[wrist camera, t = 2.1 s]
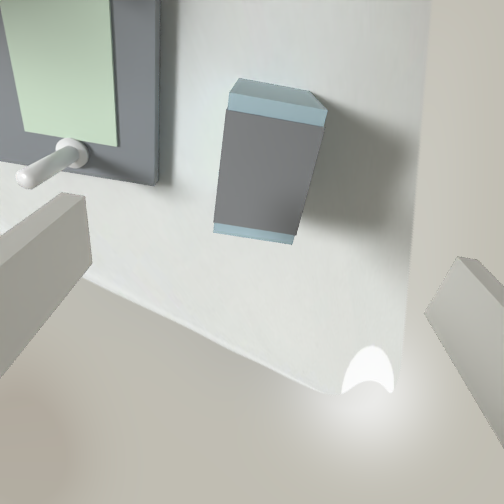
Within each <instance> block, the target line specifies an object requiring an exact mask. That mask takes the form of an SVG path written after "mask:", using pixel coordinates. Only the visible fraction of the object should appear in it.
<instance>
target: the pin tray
mask: <svg viewBox="0 0 504 504" xmlns="http://www.w3.org/2000/svg"><path fill="white" fill-rule="evenodd" d="M159 83H160V0H0V161H3V162H9V163H15V164H21V165H27V167H25V168H23V169H21V170H19V171H18V172H17V173H16V176H15V177H16V180H17V182H18V184H19V185H20V186H22V187H23V188H26V189H33V188H35V187H36V186H38V185H40V184H41V183H43V182H44V181H46V180H48V179H49V178H51V177H52V176H54V175H55V174H57V173H59V172H60V171H64V172H70V173H77V174H83V175H89V176H95V177H101V178H107V179H113V180H120V181H126V182H132V183H138V184H144V185H150V186H155V185H156V183H157V182H158V168H159Z"/></svg>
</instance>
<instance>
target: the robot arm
mask: <svg viewBox="0 0 504 504" xmlns="http://www.w3.org/2000/svg"><path fill="white" fill-rule="evenodd" d="M91 264H92V254H91V245H90V236H89V227H88V219H87V210H86V201H85V196H81V195H75V194H69V193H63V192H62V193H60V194H59V195H57V196H56V197H55V198H53V199H52V200H50V201H49V202H48V203H46V204H45V205H43V206H42V207H41V208H39V209H38V210H36V211H35V212H34V213H32V214H31V215H29V216H28V217H27V218H25V219H24V220H22V221H21V222H20V223H18V224H17V225H15V226H14V227H13V228H11V229H10V230H8V231H7V232H6V233H4V234H3V235H1V236H0V378H1V377H2V376H3V375H4V373H5V372H6V371H7V370H8V368H9V367H10V366H11V365H12V363H13V362H14V361H15V360H16V358H17V357H18V356H19V355H20V353H21V352H22V351H23V350H24V348H25V347H26V346H27V344H28V343H29V342H30V341H31V339H32V338H33V337H34V335H36V333H37V332H38V331H39V330H40V328H41V327H42V326H43V324H44V323H45V322H46V321H47V320H48V318H49V317H50V316H51V314H52V313H53V312H54V311H55V310H56V308H57V307H58V306H59V305H60V303H61V302H62V301H63V300H64V298H65V297H66V296H67V294H68V293H69V292H70V291H71V289H72V288H73V287H74V286H75V284H76V283H77V282H78V281H79V279H80V278H81V277H82V276H83V274H84V273H85V272H86V271H87V269H88V268H89V267H90V266H91ZM424 314H425V316H426V318H427V320H428V321H429V323H430V325H431V326H432V328H433V330H434V331H435V333H436V335H437V336H438V338H439V340H440V342H441V343H442V345H443V347H444V348H445V350H446V352H447V353H448V355H449V357H450V358H451V360H452V362H453V364H454V365H455V367H456V368H457V370H458V372H459V374H460V375H461V377H462V379H463V381H464V382H465V384H466V386H467V387H468V389H469V391H470V392H471V394H472V396H473V397H474V399H475V401H476V403H477V404H478V406H479V408H480V409H481V411H482V413H483V414H484V416H485V418H486V419H487V421H488V423H489V425H490V426H491V428H492V430H493V431H494V433H495V435H496V436H497V438H498V440H499V441H500V443H501V445H502V447H503V448H504V286H503V285H502V284H501V283H500V282H499V281H498V280H497V279H496V278H495V277H494V276H493V275H492V274H491V273H490V272H489V271H488V270H487V269H486V268H485V267H484V266H483V265H482V264H481V263H480V262H479V261H478V260H476V259H470V258H464V257H457V258H456V259H455V261H454V263H453V265H452V266H451V268H450V270H449V272H448V273H447V275H446V276H445V278H444V280H443V282H442V283H441V285H440V287H439V289H438V290H437V292H436V294H435V295H434V297H433V299H432V301H431V303H430V304H429V306H428V307H427V309H426V311H425V312H424Z"/></svg>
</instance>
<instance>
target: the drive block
mask: <svg viewBox="0 0 504 504" xmlns="http://www.w3.org/2000/svg"><path fill="white" fill-rule="evenodd" d="M327 112H328V110H327V109H326V108H325V107H324V106H323V105H322V104H321V103H320V102H319V101H318V100H317V99H316V98H315V96H314V95H313V94H312V93H311V92H310V91H306V90H301V89H295V88H290V87H285V86H279V85H274V84H269V83H263V82H258V81H252V80H247V79H242V78H239V79H238V81H237V82H236V83H235V85H234V86H233V88H232V89H231V91H230V92H229V101H228V108H227V109H226V116H225V124H224V133H223V142H222V151H221V160H220V169H219V178H218V186H217V195H216V204H215V213H214V222H213V223H214V231H213V233H220V234H226V235H233V236H239V237H246V238H252V239H258V240H265V241H271V242H278V243H284V244H291V245H292V244H293V240H294V236H295V235H296V234H297V231H298V227H299V223H300V219H301V216H302V212H303V208H304V205H305V201H306V197H307V193H308V190H309V186H310V182H311V179H312V175H313V171H314V167H315V164H316V160H317V156H318V152H319V149H320V145H321V141H322V138H323V134H324V130H325V127H324V123H325V120H326V116H327Z"/></svg>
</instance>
